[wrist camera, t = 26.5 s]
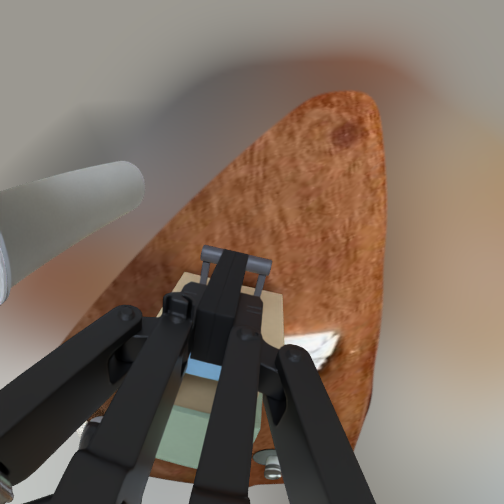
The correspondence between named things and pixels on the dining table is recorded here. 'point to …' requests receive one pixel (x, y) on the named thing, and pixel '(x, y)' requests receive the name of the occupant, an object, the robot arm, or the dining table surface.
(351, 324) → the dining table surface
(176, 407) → the cabinet
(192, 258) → the dining table surface
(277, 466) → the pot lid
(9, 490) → the robot arm
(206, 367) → the blue cuboid
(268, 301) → the drawer
